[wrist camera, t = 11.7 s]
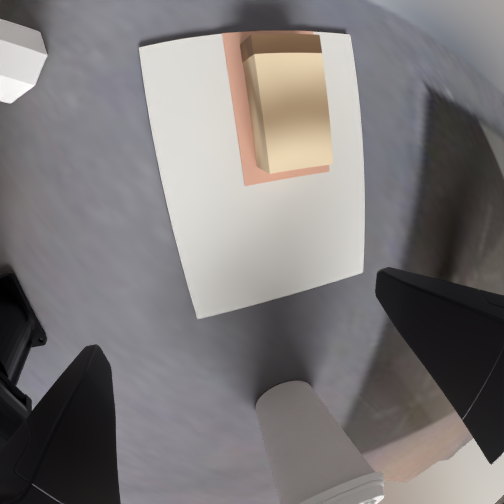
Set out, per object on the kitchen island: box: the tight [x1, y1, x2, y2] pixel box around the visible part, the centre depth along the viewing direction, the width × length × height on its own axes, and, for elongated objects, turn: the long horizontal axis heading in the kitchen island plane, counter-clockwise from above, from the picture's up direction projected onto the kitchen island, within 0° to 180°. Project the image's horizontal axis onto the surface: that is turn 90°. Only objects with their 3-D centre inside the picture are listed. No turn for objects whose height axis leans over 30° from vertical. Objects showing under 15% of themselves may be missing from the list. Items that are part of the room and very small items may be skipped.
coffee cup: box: [255, 381, 384, 504], centre depth 23 cm, size 10×10×15 cm
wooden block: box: [240, 34, 333, 174], centre depth 16 cm, size 8×4×2 cm, turn 5°
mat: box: [139, 31, 365, 319], centre depth 19 cm, size 19×14×1 cm
